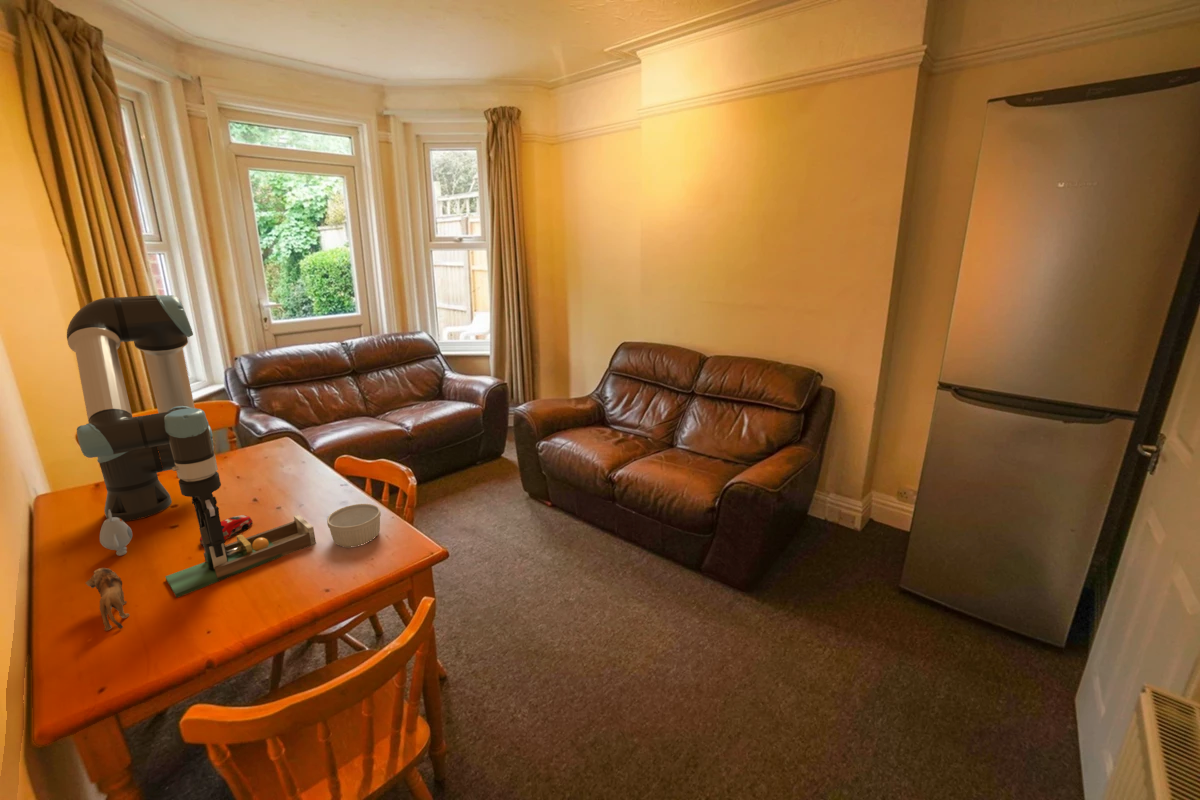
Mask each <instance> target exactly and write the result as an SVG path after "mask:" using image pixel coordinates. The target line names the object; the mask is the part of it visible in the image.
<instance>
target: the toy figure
mask: <svg viewBox="0 0 1200 800" xmlns="http://www.w3.org/2000/svg"><path fill="white" fill-rule="evenodd" d="M108 517H109V519H107V518H106V519H105V520H104V521H103V523H102V524H101V528H100V532H99V543H100V544H101V545H102V547H103V548H105V549H108V550H111V551H116V552H115V554H116V555H117V556H120V557H121V556H124V555H126V554H127V553H128V547H127V545H128V544H130V542H131V540H132V538H133V531H132V528H131V526H129V525H128V524H127V523H126V521H122V519H119V518H117V517H112V514H111V511H110V510H108Z"/></svg>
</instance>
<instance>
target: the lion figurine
mask: <svg viewBox="0 0 1200 800" xmlns="http://www.w3.org/2000/svg"><path fill="white" fill-rule="evenodd" d="M121 579H122V578H121V577H120V576H119V575H118V574H117V572H115V571H113V570H112V569H110V568H108V567H107V568H106V567H99V568H97V569H95V570H94V571H93V575H92V576H91V577H90V578H89V579H88V580H87V581H85V584H86V585H87V586H88V587H90V588H91V589H93V588H96V590H97V592H98V593H99V595H100V599H99V611H100V615H101V618H102V621H103V622H102V624H103V625H104V631H105V632H107V631H109V630H111V629H112V625H111V624H110V621H109V620H111V621H112V622H113V624H114V625H116V627H117V628H119V629H122V628H124V625H123V624H122V623H120V622H119V621H117V620H116V618H115V616H114V615H113V612H112V609H115V610H116V611H118V615H119V616H120V617H121V618H122V619H126V618H128V617H129V618H130V616H131V615H130V613H129V612H124V605H125V604H126V605H127V603H128V602H127V600H125V593H124V590H123V581H122V580H121ZM108 617H109V618H108Z"/></svg>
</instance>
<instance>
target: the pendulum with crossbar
mask: <svg viewBox="0 0 1200 800" xmlns="http://www.w3.org/2000/svg"><path fill="white" fill-rule="evenodd" d="M199 532H200V537H201V538H202V542H203V545H202V546H203V548H204V553H205V554H206V559H207V563H208V567H209V570H212V571H214V570H215V569H214V566H213V562H212V557H211V553H210V549H209V547H208V548H207V547H206V545H207V544H209V539H208V535H207V532H206V528H205V524H203V525H202V526H200V527H199ZM235 537H236V540H237V542H238V546H239V547H236V548H233V549H231V550H228V551H226V549H225V553H226V557H227V562H228V557H230V556H233V555H236V554H239V553H242V554H243V556H245V555H248V554H251V553H253V551H252V546H251V544H250V542H249V541H248V540H247V539H246V538H247V537H245V536H244V535H243V533H240V534H238V535H236V536H235ZM223 544H224V548H225V545H226V544H225V543H223Z"/></svg>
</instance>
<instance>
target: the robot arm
mask: <svg viewBox="0 0 1200 800" xmlns="http://www.w3.org/2000/svg"><path fill="white" fill-rule="evenodd" d="M193 335H194V332H193V330H192V327H191V323H190V321H189V318H188V316H187V314H186V311H185V308H184V305H183V303H182V301H181V299H180V298H179V297H178V296H176V295H167V294H166V295H160V294H155V295H153V294H152V295H139V296H138V295H137V296H134V295H133V296H119V297H117V296H116V297H113V296H111V297H103V298H99V299H96V300H93V301H91V302H89V303H86V305H84V306H83V307H81V308H80V309H79V310H78V311H77V312H76V313H75V314H74V316H72V318H71V320H70V322H69V324H68V327H67V329H66V340H67V345H68V347H69V349H70V350H72V352H74V353H75V357H76V362H77V367H78V372H79V378H80V384H81V390H82V394H83V401H84V405H85V410H86V416H87V420H88V421H87V423H86V424H82V425H79V426H77V428H76V437H77V440H78V441H77V442H78V445H79V447H80V450H81V453H82V455H83V456H84V457H85V458H91V459H93V458H97V463H99V465H100V466H99V467H100V470H101V473H102V478H103V481H104V485H105V488H106V492H107V493H106V497H105V498H106V499H105V506H104V515H105V518H106V520H107V519H109V517H108V510H110V511H111V514H112V517H117V518H119V519H122V521H123V522H129V521H135V520H139V519H140V520H141V519H143V518H147V517H149V516H153V515H156V514H158V513H160V512H162V511H165V510H167V508H169V506H171V504H172V498H171V494H170V493H169V492H168V490H167V488H166V487H165V486H164V485H163V484H162V482H161V481H160V479H159V477H158V473H163V472H165V471H173V472H176V474H177V475H176V476H177V478H178V479H179V480H178V485H179V489H180V493H181V495H182V496H184V497H188V498H191V501H192V504H193V506H194V512H195V513H196V518H197V523H198V527H199V528H200V526H202V525H203V524H205V528H206V532H207V535H208V539H209V544H207V545H206V547H207V548H208V547H209V549H210V553H211V557H212V562H213V566H214V567H216V566H219V565H221V564H224V563H227V557H226V553H225V548H224V544H225V543H226V540H225V539H224V535H223V531H222V526H221V517H220V507H219V506H217V503H218V502H217V499H216V496H214V494H213V493H214V492H216V491H217V490H219V489H220V488H221V485H222V483H221V478H220V474H219V472H218V470H219V469H218V465H217V464H218V463H217V459H216V458H217V457H216V453H215V451H214V439H213V431H212V428H211V426H210V424H209V421H208V419H207V416H206V413H205V411H204V410H203V409H201V408H197V407H195V402H194V397H193V392H192V387H191V383H190V377H189V372H188V368H187V362H186V359H185V358H186V357H185V353H184V350H183V349H184V348H185V347H186V346H187V345H188V343H189V341H188V340H189V339H188V338H190V337H192V336H193ZM128 342H133V343H134V347H135V348H136V349H138V350H139V351H142V352H143V355H144V360H145V361H146V362H145V363H146V367H147V371H148V375H149V379H150V383H151V388H152V391H153V396H154V400H155V401H154V402H155V403H156V407H157V412H158V413H153V414H147V415H146V414H145V415H138V416H133V413H132V409H131V405H130V400H129V397H128V391H127V388H126V387H127V386H126V383H125V378H124V374H123V370H122V366H121V361H120V358H119V357H120V356H119V353H118V349H119V348H120V347H121V343H128ZM223 543H224V544H223Z"/></svg>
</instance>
